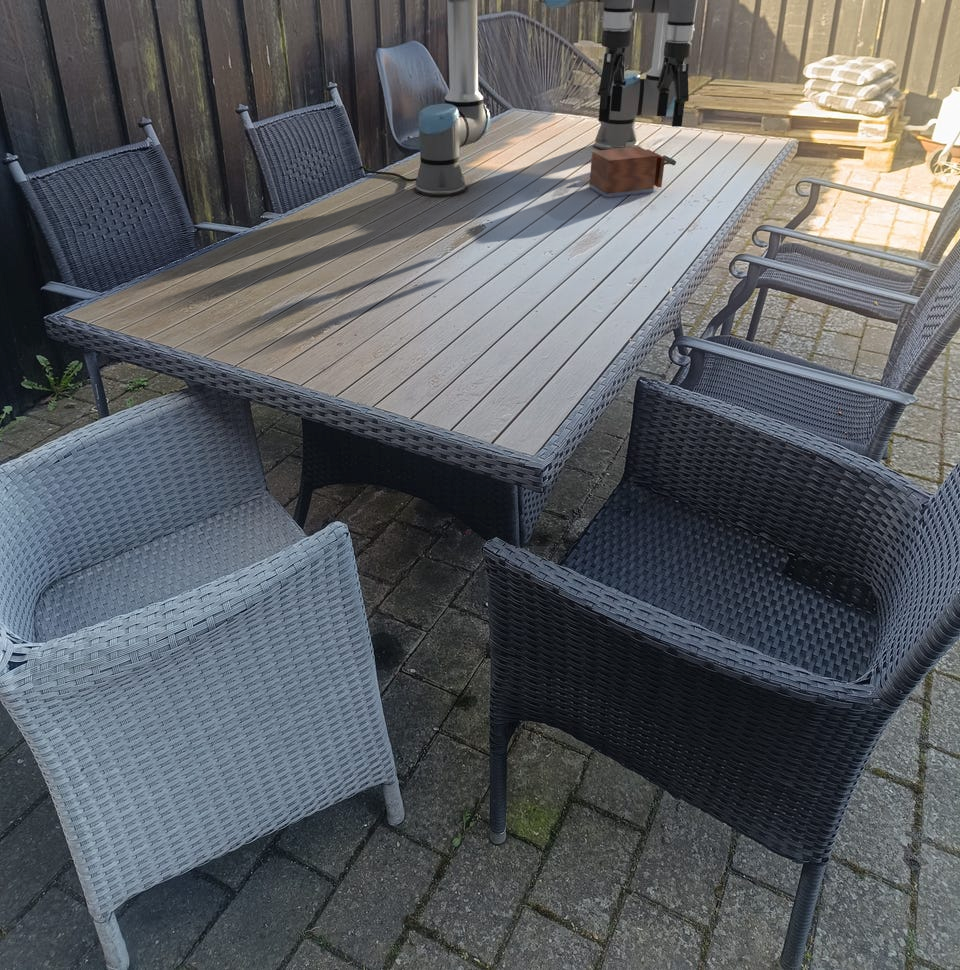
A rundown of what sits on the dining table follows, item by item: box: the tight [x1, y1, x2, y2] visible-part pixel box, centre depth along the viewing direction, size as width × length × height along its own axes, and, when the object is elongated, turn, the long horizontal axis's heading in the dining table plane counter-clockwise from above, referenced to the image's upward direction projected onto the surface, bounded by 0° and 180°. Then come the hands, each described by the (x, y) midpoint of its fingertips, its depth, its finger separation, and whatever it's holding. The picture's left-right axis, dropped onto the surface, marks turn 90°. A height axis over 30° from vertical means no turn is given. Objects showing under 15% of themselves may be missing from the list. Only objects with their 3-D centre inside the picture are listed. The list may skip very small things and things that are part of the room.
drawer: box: [646, 149, 677, 188], centre depth 257 cm, size 20×10×9 cm, turn 110°
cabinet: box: [588, 146, 657, 198], centre depth 256 cm, size 16×11×11 cm
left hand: (609, 116), depth 232 cm, fingers open, 13 cm apart
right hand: (668, 121), depth 251 cm, fingers open, 13 cm apart
